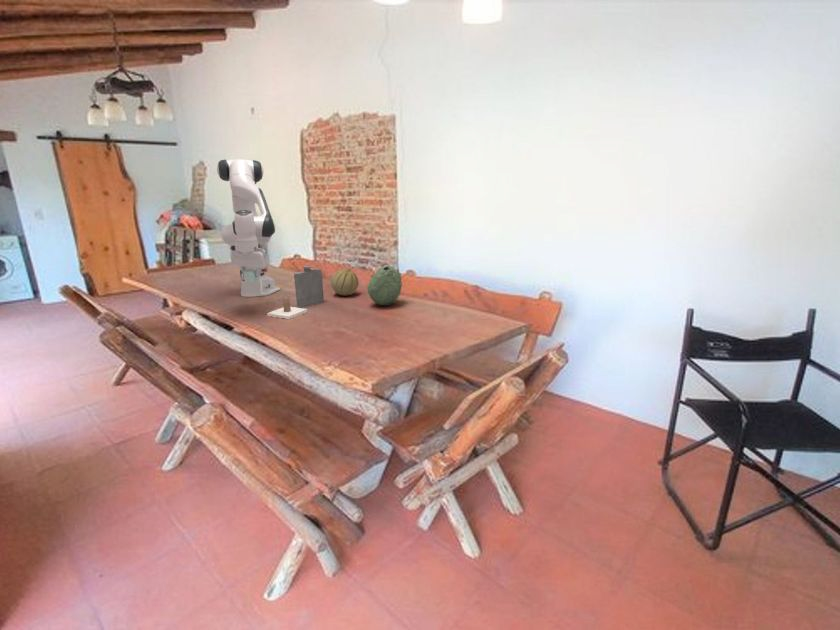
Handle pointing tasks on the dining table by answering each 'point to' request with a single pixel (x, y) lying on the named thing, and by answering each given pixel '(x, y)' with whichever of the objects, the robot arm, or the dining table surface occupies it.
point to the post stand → (287, 310)
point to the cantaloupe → (344, 282)
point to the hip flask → (308, 287)
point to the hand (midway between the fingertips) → (251, 276)
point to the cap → (250, 275)
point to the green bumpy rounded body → (385, 285)
